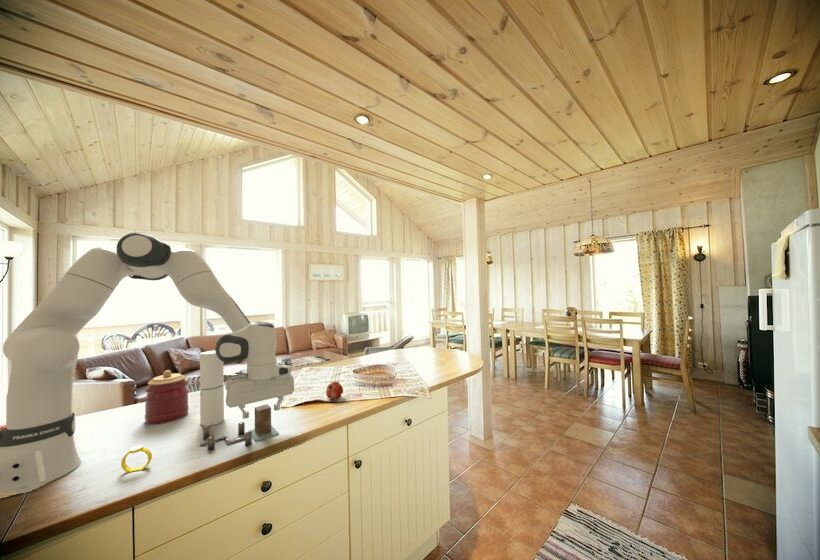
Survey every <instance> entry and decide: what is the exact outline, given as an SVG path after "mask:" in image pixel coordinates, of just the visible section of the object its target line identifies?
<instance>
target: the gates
mask: <svg viewBox="0 0 820 560" xmlns="http://www.w3.org/2000/svg"><path fill="white" fill-rule="evenodd" d="M210 426H211V425H209V426H202V427H203V428H202V440H205V441H207V444H206V447H207V451H208V450H210V451H212V450H215V448H216V447H215V445H216V444H215V442H216V441H215V439H216V438H215V435H211V431H210V429H211V427H210ZM245 427H246V426H245V422H244V421H242V422H241V421H240V422H239V423H238V425H237V428H238V430H237V431H238V432H237V433H238V434H237V435H238V436H243V435H244V437H245V439H244V446H246V447H249V446H252V445H253V438H252V432H248V431H247V432H245Z"/></svg>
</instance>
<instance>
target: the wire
mask: <svg viewBox="0 0 820 560" xmlns="http://www.w3.org/2000/svg"><path fill="white" fill-rule="evenodd" d="M222 440H224V441H225V443H226V444H227V445H231V444H234V443H237V442H241V441H245V436H242V437H239V438H236V439H232V440H230V439H229V438H228V436H227V435H223V436H221V437H217V438H215V442H218V441H222ZM199 445H200V447H201V446H205V445H206V446H207V440H205V441H204V442H203V441H202V442H200V444H199Z"/></svg>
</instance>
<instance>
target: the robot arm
mask: <svg viewBox="0 0 820 560" xmlns="http://www.w3.org/2000/svg"><path fill="white" fill-rule="evenodd" d="M126 277H129V278H131V279H137V280H146V281H161V280H164V279H166V278H167V277H169V278H170V279H171V280H172V282H173V284H174V285H175V288H176V289H177V291H178V292H179V294H180V296H182V298H183V299H184V300H185V301H186V302H187V303H188V304H190V305H191V306H195V307H198V308H202V309H206V310H208V311H212V312H213V313H216V314H217V315H219V316H220V317H221V318H222V319H223V321H224V323H225V324H226V325H227V326H228V328H229V329H230V330H231V332H229V333H227V334H224V335H222V336H220V337H219V338H218V340H217V341H216V344H215V348H214V350H215V352H216V355H217V357H218V358H219V359H220V360H221V361H223V363H225V364H234V363H237V362H242V361H246V373H242V374H239V375H232V376H230V377H229V378H228V379H226V381H225V383H224V384H225V386H224V387H225V388H224V389H225V391H226V396H225V405H226V406H227V407H228V408H230V409H232V408H236V407H238V408H239V410H240V411H241V412H242V419H244V420H245V419H248V418H250V412H249V410H245V408H246V405H250V404H254V403H258V402H263V401H267V400H271V399H274V398H275V399H276V398H277V399H278V400H277V401H276V403H274V404H273V410H274V411H275V412H276V411H280V410H281V404H282V403H283V400H284V396H289V395H292V394H293V393H294V391H295V380H294V376H293V375H292V374H291V373H292V368H291V366H289V365H287V364H284V363H277V361H278V360H277V357H276V351H277V345H278V343H277V332H276V331H277V330H276V327H275V325H274V324H272V323H270V322H266V321H258V320H257V321H253V322H252V321H251V322H250V320H249V319H248V318H247V316H246V314H244V312H243V311H242V309H241V308H240V307H239V305H238V304H237V303H236V301H235V300H234V299H233V297H231V295H230V294H229V293H228V292H227V291H226V290H225V288H224V287H223V286H222V284H221V282H220V281H219V280H218V278H217V277H216V275H215V274H214V272H213V271H212V269H211V267H210V266H209V264H207V262H206V261H205V260H204V259H203V257H202V256H201V255H200V253H198V252H197V251H195V250H193V249H189V248H183V249H178V250H172V248H171V246H170V245H169V244H167V243H165V242H163V241H162V240H160V239H158V238H156V237H155V236H152V235H151V234H148V233H145V232H140V231H139V232H130V233H127V234H125V235H124V236H122V237H121V238H120V239H119V240H118V242H117V245H116V250H115V249H112V248H108V247H95V248H91V249H89V250H88V251H86V252H85V253H84V254H83V255H81V257H79V258H78V259H77V260H76V261H75V262H74V263H73V264H72V265H71V266H70V268H68V270H67V271H66V272H65V273H64V274H63V275H62V277H61V278H60V279H59V280H58V282H57V283H56V284H55V285H54V287H53V288H52V289H51V290H50V291H49V293H48V294H47V296H45V298H44V299H43V300H42V301H41V302H40V303H39V304H38V305H37V306H36V307H35V308H34V309H33V310H32V311H31V312H30V313H29V314H28V315H27V316H26V317H25V318H24V319H23V320H22V321H21V322H20V324H18V326H17V327H16V328H15V329H14V330H13V331H12V332H11V333H10V334H9V336H8V337H7V338H6V339H5V341H4V343H3V345H2V352H3V354H4V355H3V356H5V358H6V359H7V360H9V361H10V375H9V381H8V382H9V383H8V387H7V388H8V389H7V394H6V396H5V397H6V403H5V404H6V405H5V411H6V412H5V415H6V416H5V424H3V425H0V491H2V492H3V493H4V494H7V493H22V492H27V491H31V490H34V489H36V488H38V489H40V488H41V486H42V487H43V486H46V484H48V483H50V482H53V481H54V480H57V479H59V478H61V477H63V476H65V475H67V474H69V473H70V472H72V471H74V470H75V469H77V468H78V467H79V466H80V464H81V461H82V460H81V459H80V457H79V454H78V451H77V448H76V444H75V443H76V442H75V439H74V434H75V431H76V417H75V416H76V415H75V412H73V388H74V387H73V385H74V378H75V373H76V369H77V362H78V355H79V352H80V342H79V341H80V340H79V339H78V337H77V335H78V334H79V333H80V331H81V330H82V329H83V328H84V327H85V326H86V325H87V324H88V323H89V322H90V321H91V320H93V318H95V317H96V316H97V315H98V314H99V312H100V311H101V309H102V308H103V306H104V305H105V304H106V302H107V301H108V299H109V298H110V297H111V295H112V294H113V292H114V291H115V290H116V288H117V286H118V285H119V284H120V282H121V281H123V279H124V278H126ZM39 487H40V488H39ZM36 490H37V489H36ZM34 491H35V490H34ZM31 492H32V491H31Z"/></svg>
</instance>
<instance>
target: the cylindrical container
mask: <svg viewBox="0 0 820 560" xmlns="http://www.w3.org/2000/svg"><path fill="white" fill-rule="evenodd" d="M224 381H225V380H224V362H223V361H221V360H220V359H219V358H218V357H217V355H216V352H215V349H214V350H208V351H202V352H200V353H199V387H200V388H199V396H200V397H199V398H200V400H199V403H200V404H199V405H200V409H199V411H200V412H199V413H200V414H199V415H200V421H199V422H200V426H202V425H203V426H202V427H205V426H213V425H216V424H220V423H222V422H223V421H224V420H225V406H224V404H225V403H224V401H225V400H224V399H225V398H224V397H225V396H224V395H225V394H224V392H225V391H224V389H225V388H224V387H225V386H224V384H225V383H224Z"/></svg>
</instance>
